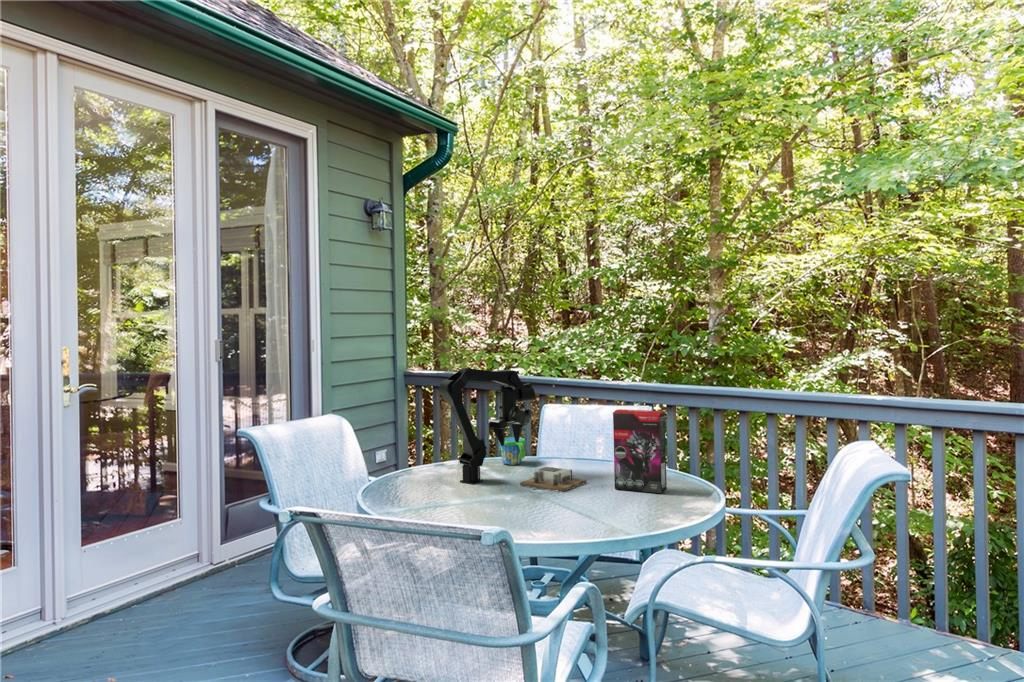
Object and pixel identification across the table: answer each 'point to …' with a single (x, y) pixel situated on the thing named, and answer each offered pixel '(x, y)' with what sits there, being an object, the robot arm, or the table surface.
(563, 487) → the wooden peg board
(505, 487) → the table surface
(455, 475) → the table surface
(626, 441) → the graphics card box
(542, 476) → the drive
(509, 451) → the snack cup
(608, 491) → the table surface
